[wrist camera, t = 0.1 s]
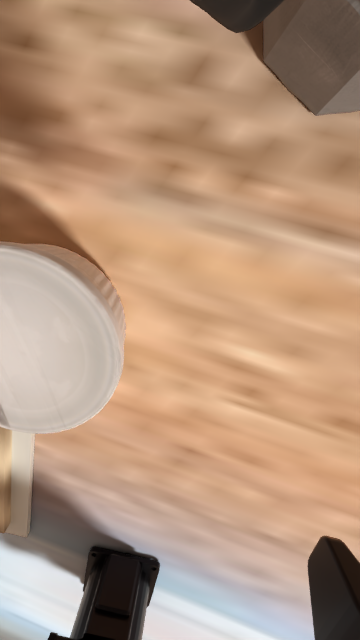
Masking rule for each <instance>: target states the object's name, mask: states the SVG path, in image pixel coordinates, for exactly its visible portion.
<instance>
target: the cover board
mask: <svg viewBox="0 0 360 640" xmlns="http://www.w3.org/2000/svg"><path fill="white" fill-rule="evenodd" d="M11 468H12V430H9V429H6V428H3V427H0V533H5V531H6V529H7V528H8V526H9V524H10V523H11Z"/></svg>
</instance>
